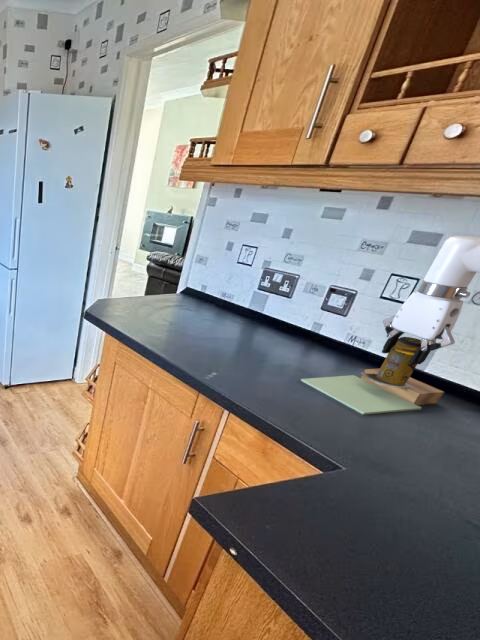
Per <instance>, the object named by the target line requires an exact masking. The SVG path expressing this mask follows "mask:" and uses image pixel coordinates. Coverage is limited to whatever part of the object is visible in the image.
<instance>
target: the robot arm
mask: <svg viewBox="0 0 480 640" xmlns="http://www.w3.org/2000/svg"><path fill="white" fill-rule="evenodd" d="M478 273H479V274H480V237H478V236H469V235H468V236H467V235H454V236H450V237H449V238H447V239H446V240H445V241H444V243H442V246H441V248H440V249H439V251H438V253H437V255H436V256H435V258H434V260H433V261H432V264H431V266H430V267H429V269H428V271H427V273H426V274H425V276H424V278H423V279H422V281H421V283H420V285H419V287H418V289H417V290H416V291H413V292H412V293H411V294H410V295H409V297H407V299H406V300H405V301H404V302H403V304H402V305H401V307H400V308H399V309H398V311H397V312H396V314H395V315H393V316H390V317H387V318H385V319H382V324H383V326H384V330H385V332H386V338H387V339H386V341H385V343H384V344H383V347H382V350H381V353H382V354H388V353H389V352H390V350H391V348H392V347H393V346H395V345H396V343H397V342H398V339H399V338H401V337H403V335H404V334H408V335H410V336H414V337H415V338H418V339H421V340H422V341H421V349H418V350H416V352H415V354H414V355H413V357H412V359H411V360H410V362H409V363H410V364H412V365H414V364H417V365H421V364H422V363H424V362H425V361H426V360H427V358H428V356H429V355H430V353H431V351H432V352H433V351H435V350H438V349H442V348H444V347H448V346H452V345H454V344H455V343H456V341H455V339H454V337H453V334H452V331H453V329H454V326H455V324H456V323H457V321H458V319H459V316H460V315H461V312H462V309H463V306H464V300H461V299H462V298H465V299H467V298H469V297H470V295H471V292H470V291H468V287H469V285H470V284H471V283H472V281H473V279H474V277H475V275H476V274H478ZM437 340H441V341H438V342H437Z"/></svg>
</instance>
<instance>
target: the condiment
mask: <svg viewBox="0 0 480 640" xmlns="http://www.w3.org/2000/svg"><path fill="white" fill-rule="evenodd" d="M421 341H422V339H421V338H417V337H411V336H400V337H399V339H398V342H397V343H396V345H395V346H393V347H392V348H391V350H390V352H389V353H387V355H386V357H385V358H384V360H383V363H382V364H381V366H380V370H379V371H378V373H377V374H370V373H364V372H360V374H361V376H362V375H364V376H365V377H367V378H368V379H370V380H371V381H373V382H375V383H376V384H378V385H381V386H395V387H409V388H415V387H413V386H411V385H409V384H407V383H406V382H407V381H408V379H409V377H411V376H412V374H413V373H414V371H415V369H416V367H417V366H418V364H414V365H412V364H410V363H409V362H410V360H411V359H412V357H413V355H414V354H415V352H416V350H418V349H421Z"/></svg>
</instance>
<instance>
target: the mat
mask: <svg viewBox="0 0 480 640" xmlns="http://www.w3.org/2000/svg"><path fill="white" fill-rule="evenodd" d="M360 378H361V377H358V376H356V375H353V374H352V375H339V376H336V375H335V376H323V377H310V378H301V379H300V382H302V383H304V384H306V385H308V386H310V387H311V388H313V389H315V390H317V391H319V392H320V393H322V394H324V395H326V396H327V397H330V398H331V399H333V400H335V401H336V402H337V401H338V402H339V403H341V404H343V405H345V406H346V407H348V408H350V409H352V410H354V411H356V412H357V413H359V414H361V415H364V416H365V415H376V414H385V413H398V412H399V413H400V412H408V411H419V410H422V408H423V407H422V406H421V405H415V404H413V403H411V402H409V401H407V400H405V399H403V398H401V397H399V396H396V395H394V394H392V393H390V392H388V391H386V390H384V389H382V388H380V387H377V386H375V385H373V384H371V383H369V382H367V381H365V380H363V379H360Z"/></svg>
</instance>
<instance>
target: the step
mask: <svg viewBox="0 0 480 640" xmlns="http://www.w3.org/2000/svg"><path fill="white" fill-rule="evenodd" d="M380 368H381V367H380ZM380 368H366V369H364V371H363V373H370V374H377V373H378V371H379V370H380ZM359 378H360V379H363V380H365V381H367V382H369V383H371V384H373V385H375V386H377V387H380V388H382V389H384V390H386V391H388V392H390V393H392V394H394V395H396V396H399V397H401V398H403V399H405V400H407V401H409V402H411V403H413V404H415V405H418V406H422V405H433V404H438V402H439V401H440V399H441V398H442V396H443V395H444V393H445V391H444V390H441V389H438V388H436V387H434V386H432V385H430V384H427V383H425V382H422V381H420V380H417V379H415V378H413V377H411V376H410V377H409V379H408V381H407V382H406V383H407V384H409V385H411V386H413V387H415V388H409V387H395V386H381V385H378V384H376V383H375V382H373V381H371V380H370V379H368V378H367V377H365V376H364V375H362V374H361V377H359Z"/></svg>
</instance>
